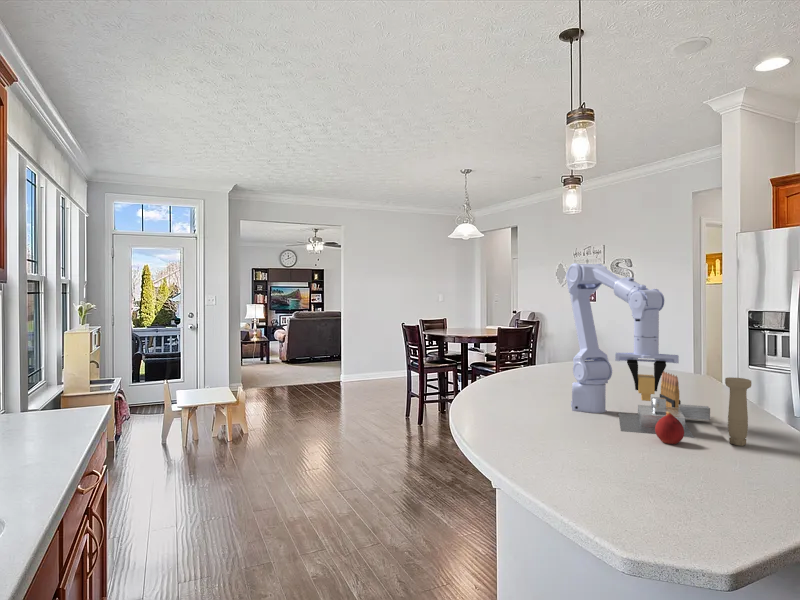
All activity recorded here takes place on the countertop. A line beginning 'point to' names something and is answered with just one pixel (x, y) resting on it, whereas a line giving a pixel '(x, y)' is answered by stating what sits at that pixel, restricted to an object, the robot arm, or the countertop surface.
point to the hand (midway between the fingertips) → (645, 390)
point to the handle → (738, 410)
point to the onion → (669, 429)
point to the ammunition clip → (670, 390)
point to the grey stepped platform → (656, 411)
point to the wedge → (646, 386)
